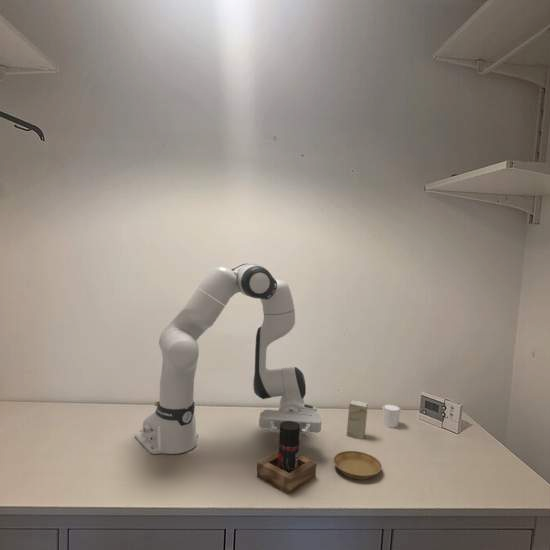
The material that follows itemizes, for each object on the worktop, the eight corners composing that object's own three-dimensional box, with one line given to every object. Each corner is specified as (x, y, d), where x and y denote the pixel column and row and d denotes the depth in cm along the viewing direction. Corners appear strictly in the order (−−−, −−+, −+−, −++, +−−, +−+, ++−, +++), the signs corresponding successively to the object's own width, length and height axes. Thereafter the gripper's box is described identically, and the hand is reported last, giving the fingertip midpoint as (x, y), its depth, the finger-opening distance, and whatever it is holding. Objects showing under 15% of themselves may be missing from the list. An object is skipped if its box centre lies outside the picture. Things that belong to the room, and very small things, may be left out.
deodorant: (295, 481, 124) (298, 431, 122) (275, 477, 125) (278, 428, 123) (298, 470, 129) (301, 422, 128) (279, 467, 131) (281, 419, 129)
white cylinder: (401, 424, 169) (402, 406, 169) (396, 430, 164) (397, 412, 163) (384, 419, 173) (385, 402, 172) (378, 425, 167) (380, 407, 167)
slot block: (256, 476, 127) (257, 462, 126) (283, 461, 136) (283, 447, 136) (289, 494, 119) (290, 479, 119) (315, 477, 128) (316, 462, 128)
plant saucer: (324, 471, 132) (325, 463, 132) (345, 453, 144) (345, 446, 144) (369, 490, 124) (370, 481, 124) (387, 468, 136) (388, 460, 136)
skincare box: (346, 435, 157) (348, 403, 156) (349, 430, 161) (351, 399, 160) (363, 439, 154) (366, 406, 153) (365, 434, 159) (368, 402, 157)
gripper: (261, 402, 148) (256, 419, 134) (321, 407, 146) (322, 424, 132) (260, 420, 148) (255, 439, 134) (319, 425, 147) (321, 444, 133)
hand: (289, 432), depth 133 cm, fingers open, 8 cm apart
